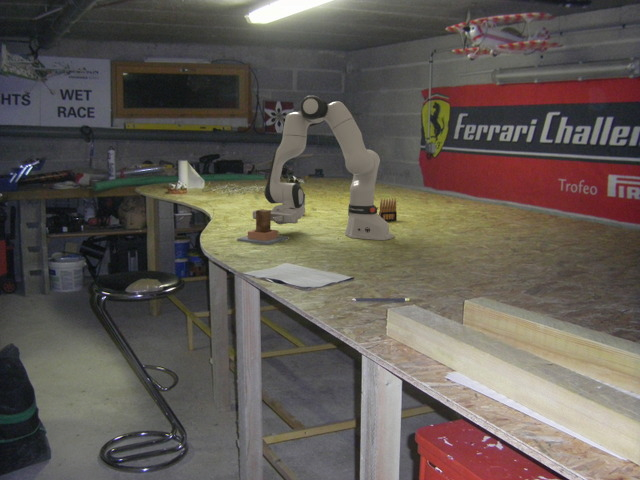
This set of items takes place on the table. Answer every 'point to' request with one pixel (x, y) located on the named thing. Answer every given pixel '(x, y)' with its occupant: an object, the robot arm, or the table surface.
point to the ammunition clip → (388, 210)
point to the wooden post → (263, 221)
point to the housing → (263, 237)
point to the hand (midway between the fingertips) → (264, 218)
